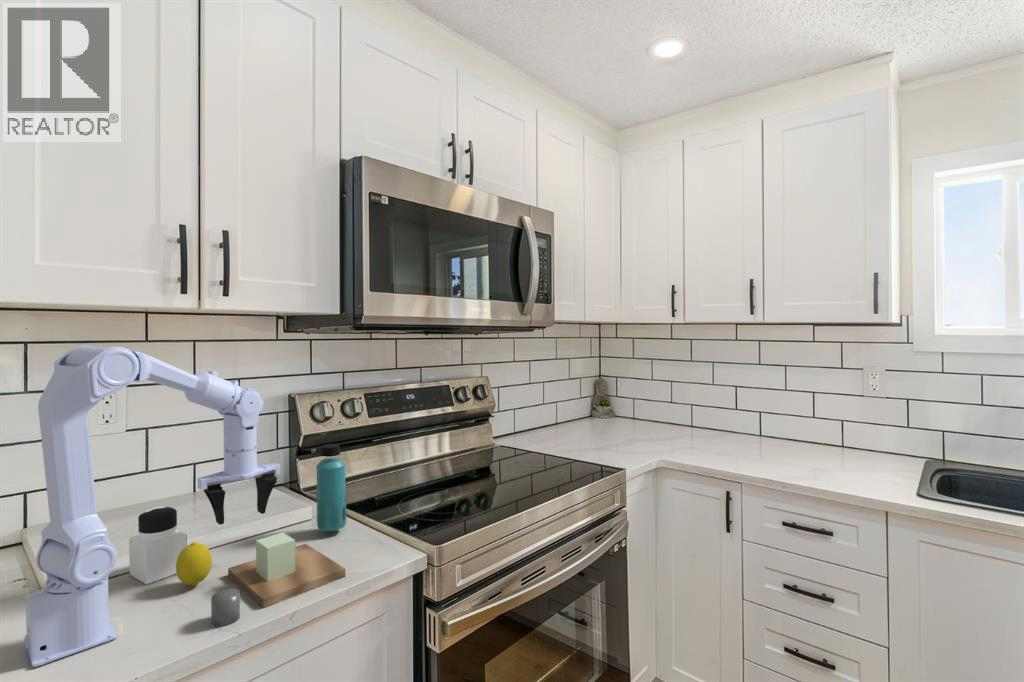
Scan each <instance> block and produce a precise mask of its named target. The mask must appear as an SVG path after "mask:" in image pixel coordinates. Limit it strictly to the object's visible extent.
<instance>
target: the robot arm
mask: <svg viewBox="0 0 1024 682" xmlns="http://www.w3.org/2000/svg"><path fill="white" fill-rule="evenodd" d="M53 363H54V364H53V365H54V366H53V367H54V370H53V373H52V375H51V376H50V379H49V381H48V382H47V385H46V386H45V388H44V390H43V392H42V394H41V395H40V398H39V399H38V405H37V406H38V407H37V410H38V417H39V419H38V420H39V430H40V437H41V447H42V457H43V466H44V467H43V468H44V475H45V483H46V484H45V485H46V495H47V505H48V512H49V513H48V514H49V515H48V516H49V523H48V524H47V525H46V526H45V527H44V528H43V529H42V530H41V543H40V547H39V549H38V551H37V553H36V559H35V562H36V563H35V564H36V566H37V568H38V569H39V570H40V571H41V572H42V573H44V574H46V580H45V584H44V588H42V589H39V590H37V591H35V592H32V593H29V594H27V595H26V598H25V622H26V635H24V647H25V649H27V652H28V656H29V660H30V664H31V668H36V667H39V666H43V665H45V664H48V663H51V662H54V661H56V660H60V659H62V658H65V657H68V656H70V655H74V654H77V653H80V652H83V651H84V650H88V649H91V648H93V647H96V646H99V645H101V644H104V643H107V642H110V641H113V640H115V639H117V638H118V633H117V632H116V630H115V629H114V626H113V625H112V622H111V620H110V609H109V608H110V607H109V606H110V605H109V575H110V574H111V573H112V571H113V570H114V568H115V567H116V564H117V562H118V561H117V560H118V551H117V549H116V547H115V546H114V544H112V542H111V541H110V539H109V534H108V529H107V527H106V526H105V525H104V523H103V521H102V520H101V518H100V517H99V514H98V511H97V500H96V499H97V498H96V490H95V489H96V488H95V480H94V478H95V477H94V468H93V467H94V466H93V457H92V447H91V446H92V445H91V438H90V437H91V436H90V428H89V427H90V426H89V417H88V413H89V412H90V411H91V410H92V409H93V408H94V407H95V406H96V405H97V404H99V402H101V401H102V400H103V399H104V398H106V397H109V396H110V395H112V394H115V393H117V392H118V391H120V390H123V389H124V388H125V387H127V386H129V385H131V384H132V383H133V382H142V381H149V382H151V383H155V384H157V385H162V386H165V387H168V388H171V389H175V390H178V391H181V392H184V395H185V398H186V399H187V401H188V402H191V403H193V404H196V405H200V406H201V407H202V406H203V407H206V408H209V409H211V410H213V411H217V413H219V415H221V416H223V419H222V421H223V424H222V425H223V470H222V471H219V472H216V473H213V474H210V475H205V476H201V477H197V488H198V489H199V490H201V491H203V493H204V494H205V495H206V498H207V500H208V501H209V502H210V503H209V504H210V505H211V508H212V510H213V513H214V517H215V522H216V523H217V524H218V525H223V524H225V510H224V509H225V508H224V507H225V505H224V504H225V497H226V496H225V495H226V490H224V489H223V486H222V485H228V484H229V485H230V484H233V483H237V482H242V481H247V480H252V479H255V480H254V481H255V486H256V494H257V495H256V508H257V509H256V510H257V512H258V513H260V514H261V515H263V514H266V509H267V505H268V502H269V499H270V495H271V493H272V491H273V489H274V487H275V486H276V485H277V482H278V478H277V476H276V475H280V474H281V464H280V463H278V462H274V463H267V464H266V463H265V464H258V456H257V455H258V453H257V452H258V450H257V449H258V448H257V445H258V444H257V443H258V442H257V441H258V438H257V437H258V436H257V426H258V423H259V415H260V414H261V411H262V409H263V407H264V404H265V403H264V400H262V397H261V395H260V394H259V392H258V391H257V390H256V389H254V388H251V387H250V388H249V387H241V386H240V384H239V383H240V382H238V381H236V380H230V381H229V380H226V379H224V378H222V377H219V373H218V372H217V371H212V370H207V371H201V372H198V373H195V374H192V373H190V372H188V371H186V370H183V369H181V368H178V367H177V366H174V365H171V364H169V363H167V362H164V361H163V360H160V359H159V358H155V357H153V356H151V355H148V354H146V353H144V352H141V351H135V350H134V351H132V350H130V349H128V348H125V347H121V346H112V347H109V346H108V347H107V346H105V347H103V346H93V345H89V344H87V345H84V344H82V345H79V346H75V347H73V348H71V349H70V350H68V351H67V352H65V353H64V354H63V355H61V356H60V357H59V358H58V359H57V360H55V361H54V362H53Z"/></svg>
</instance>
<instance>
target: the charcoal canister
mask: <svg viewBox="0 0 1024 682" xmlns="http://www.w3.org/2000/svg"><path fill="white" fill-rule="evenodd" d="M240 599H241V598H240V590H239V589H236V588H227V589H223V590H218V591H217V592H215V593H214V594H212V595H211V598H210V604H211V605H210V607H211V608H210V609H211V610H210V614H211V617H210V618H211V619H210V620H211V625H212V626H213V627H216V628H221V627H227V626H230V625H233V624H235V623H236V622H237V621H239V619H240V616H241V614H240V613H241V609H240V607H241V606H240V605H241V604H240V603H241V601H240Z"/></svg>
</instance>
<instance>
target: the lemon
mask: <svg viewBox="0 0 1024 682" xmlns="http://www.w3.org/2000/svg"><path fill="white" fill-rule="evenodd" d="M212 563H213V559H212V553H211V550H210V549H209V547H208V546H206V544H203V543H199V542H197V541H194V542H193V541H192V542H191V543H190V544H187V546H186V547H185V548H184V549H183V550H182V551H181V552H180V554H179V556H178V558H177V562H176V572H177V574H176V575H177V576H176V577H177V579H179V581H180V582H182V583H183V584H186V585H190V586H192V587H196V586H198V584H199V583H201V582H202V581H204V580H205V579H206V578H207V577H208V575H209V574H210V572H211V570H212V565H213V564H212Z"/></svg>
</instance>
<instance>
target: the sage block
mask: <svg viewBox="0 0 1024 682" xmlns="http://www.w3.org/2000/svg"><path fill="white" fill-rule="evenodd" d="M295 547H296V539H295V538H292V537H291V536H290V535H288V534H287V533H285V532H279V533H277V534H273V535H270V536H266V537H263V538H258V539H256V540H255V552H256V553H255V555H256V556H255V557H256V559H255V560H256V572H257V573H258V574H259V575H260V576H262V577H263V578H264V579H265V580H266V581H271V580H274V579H277V578H279V577H282V576H285V575H288V574H291V573H294V572H295Z"/></svg>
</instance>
